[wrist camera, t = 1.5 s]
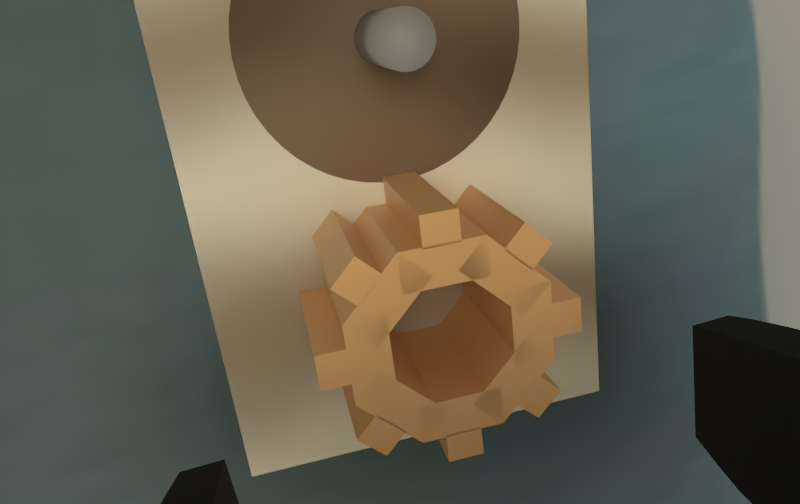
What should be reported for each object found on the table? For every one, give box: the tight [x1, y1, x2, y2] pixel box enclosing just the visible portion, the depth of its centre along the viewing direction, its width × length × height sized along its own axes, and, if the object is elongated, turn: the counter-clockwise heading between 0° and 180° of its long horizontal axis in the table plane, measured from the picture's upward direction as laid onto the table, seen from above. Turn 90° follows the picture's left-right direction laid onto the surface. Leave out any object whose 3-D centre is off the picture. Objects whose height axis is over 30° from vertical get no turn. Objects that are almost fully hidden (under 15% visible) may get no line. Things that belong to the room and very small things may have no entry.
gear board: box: [134, 0, 599, 477], centre depth 13 cm, size 20×10×6 cm, turn 8°
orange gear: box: [299, 172, 582, 462], centre depth 16 cm, size 6×6×4 cm
